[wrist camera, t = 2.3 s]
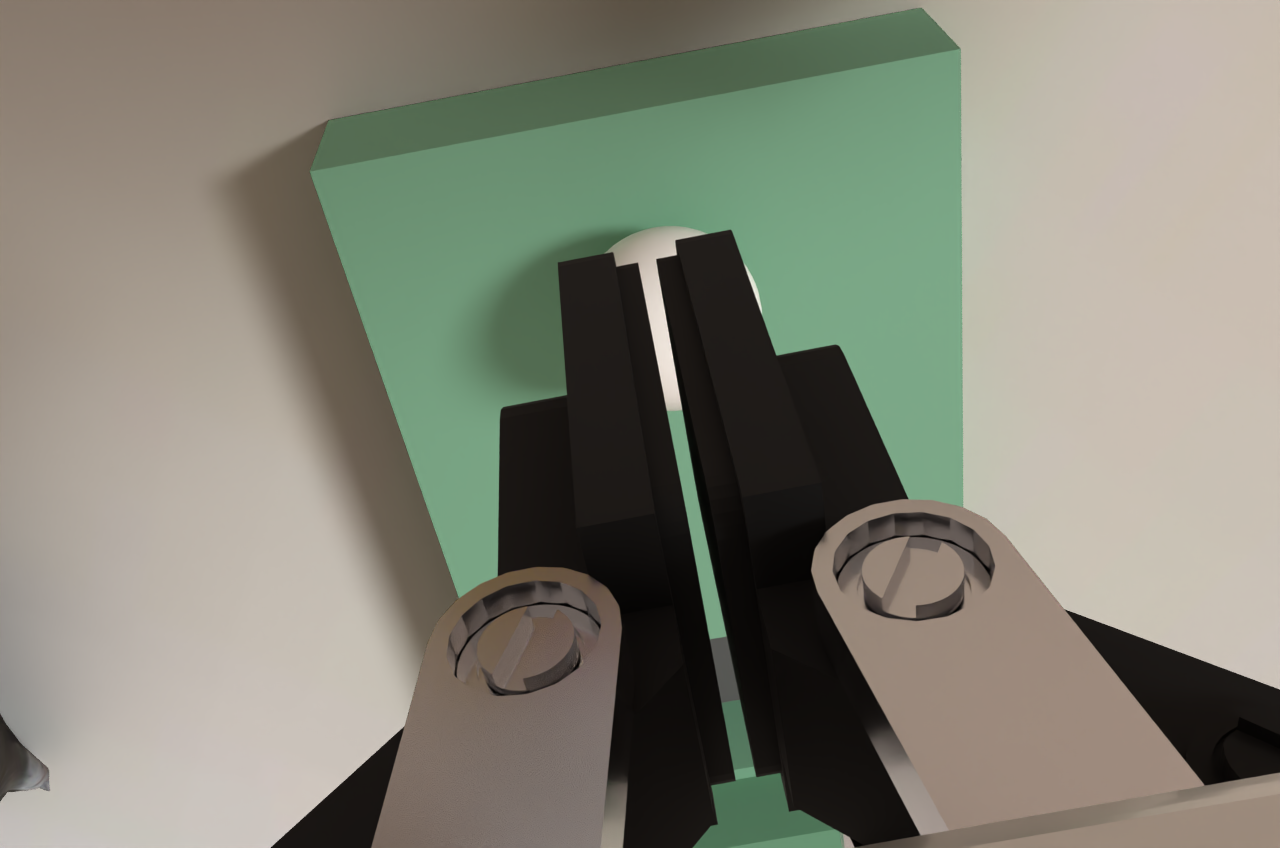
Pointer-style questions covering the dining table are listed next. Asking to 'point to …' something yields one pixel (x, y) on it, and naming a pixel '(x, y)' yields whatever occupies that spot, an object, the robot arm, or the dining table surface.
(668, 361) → the ball
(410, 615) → the dining table surface
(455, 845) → the robot arm
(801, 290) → the green
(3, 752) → the lucky cat figurine
